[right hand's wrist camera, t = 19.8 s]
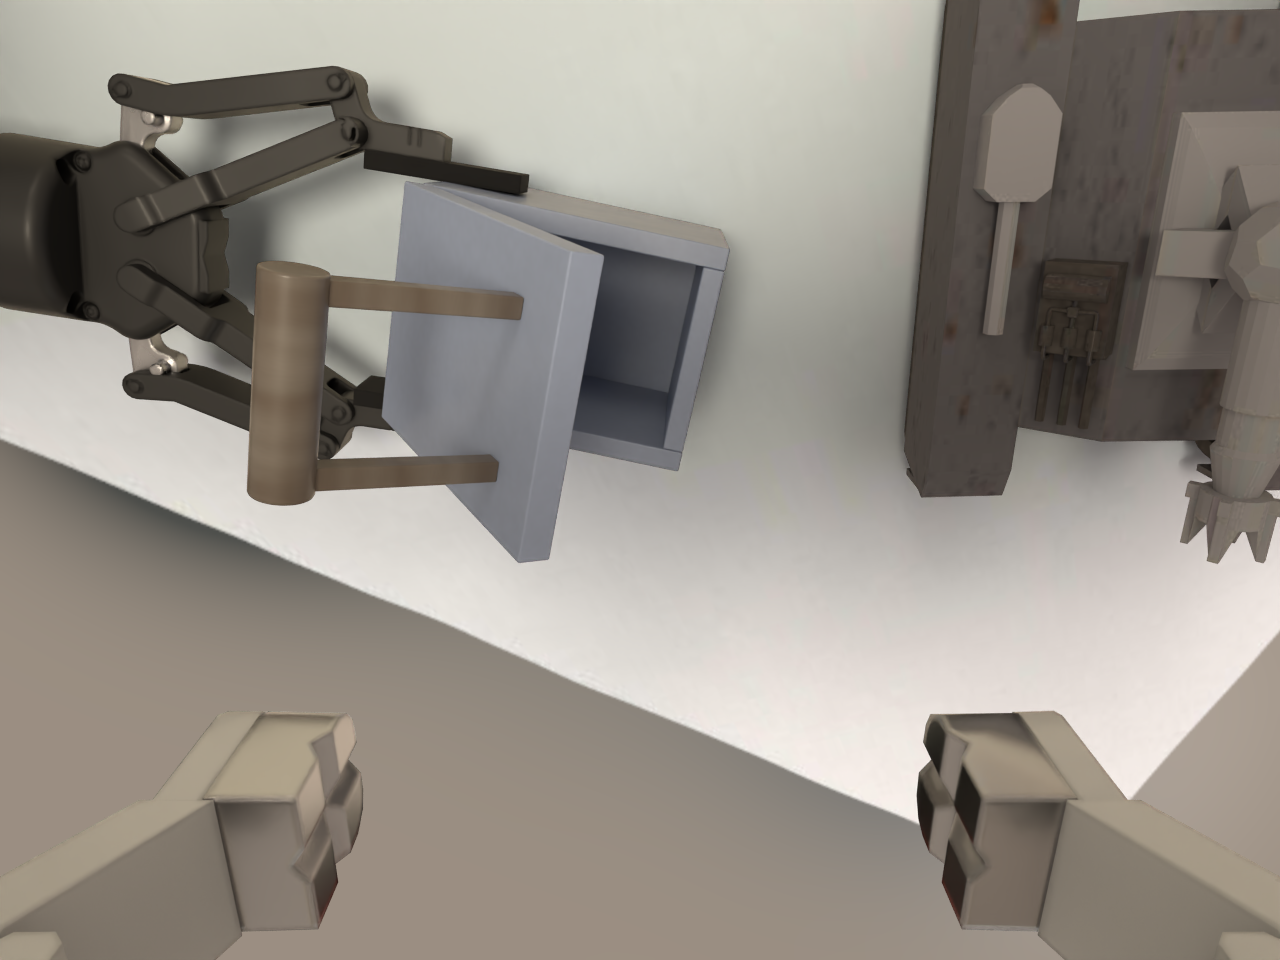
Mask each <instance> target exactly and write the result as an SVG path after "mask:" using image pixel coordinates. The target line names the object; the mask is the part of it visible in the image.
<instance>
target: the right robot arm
mask: <svg viewBox="0 0 1280 960" xmlns="http://www.w3.org/2000/svg"><path fill="white" fill-rule="evenodd" d="M356 743H357V741H356V735H355V730H354V724H353V719H352V718H351V717H350V716H349V715H348V714H347V713H315V712H269V711H268V712H263V711H228V712H225V713H222V714H220V715H218V716H217V717H216V718H215V719H214V720H213V722H212V723H211V724H210V726H209V727H208V728H207V730H206V731H205V732H204V733H203V735H202V736H201V737H200V739H199V740H198V741H197V743H196V744H195V745H194V746H193V748H192V749H191V750H190V752H189V753H188V754H187V756H186V757H185V758H184V759H183V761H182V762H181V763H180V765H179V766H178V767H177V769H176V770H175V771H174V772H173V774H172V775H171V776H170V778H169V779H168V780H167V781H166V783H165V784H164V785H163V787H162V788H161V789H160V791H159V792H158V793H157V794H156V796H155V797H154V798H153V800H138V801H137V802H135V803H133V804H131V805H129V806H128V807H126V808H124V809H122V810H120V811H118V812H117V813H115V814H113V815H111V816H109V817H108V818H106V819H104V820H102V821H100V822H99V823H97V824H95V825H93V826H91V827H89V828H87V829H86V830H84V831H82V832H80V833H78V834H77V835H75V836H73V837H71V838H69V839H67V840H66V841H64V842H62V843H60V844H58V845H57V846H55V847H53V848H51V849H49V850H47V851H46V852H44V853H42V854H40V855H38V856H36V857H35V858H33V859H31V860H29V861H27V862H26V863H24V864H22V865H20V866H18V867H16V868H15V869H13V870H11V871H9V872H7V873H6V874H4V875H2V876H0V960H216V959H217V958H218V957H219V956H220V955H221V954H222V953H224V952H225V951H226V950H227V949H228V948H229V947H230V946H231V945H232V944H233V943H235V942H236V941H237V940H238V939H239V938H240V937H241V936H242V931H276V930H311V929H318V928H319V926H320V924H321V921H322V919H323V917H324V914H325V912H326V910H327V907H328V905H329V903H330V900H331V898H332V895H333V893H334V891H335V888H336V886H337V884H338V878H337V871H336V863H337V862H339V861H340V860H341V859H343V858H344V857H345V856H347V855H348V854H349V853H350V852H351V850H352V848H353V845H354V843H355V840H356V837H357V835H358V831H359V826H360V821H361V815H362V810H363V785H362V777H361V772H360V771H359V770H358V769H357V768H356V767H355V766H354V765H353V764H352V763H351V762H350V761H349V757H350V755H351V753H352V751H353V749H354V747H355V745H356ZM923 743H924V745H925V747H926V749H927V751H928V753H929V755H930V758H931V761H930V762H929V763H928V764H927V765H926V766H925V767H924V768H923V769H922V770H921V771H920V772H919V778H918V787H917V806H918V819H919V823H920V827H921V831H922V835H923V838H924V840H925V843H926V845H927V848H928V850H929V852H930V853H931V854H932V855H933V856H935V857H936V858H937V859H939V860H940V861H941V862H943V863H944V871H943V878H942V884H943V886H944V888H945V891H946V893H947V895H948V898H949V900H950V903H951V905H952V907H953V910H954V912H955V914H956V917H957V919H958V921H959V923H960V926H961V928H962V929H967V930H1003V931H1037V932H1038V936H1039V937H1040V938H1041V939H1043V940H1044V941H1045V942H1046V943H1047V944H1048V945H1049V946H1050V947H1051V948H1052V949H1054V950H1055V951H1056V952H1057V953H1058V954H1059V955H1060V956H1061V957H1062V958H1063V959H1065V960H1280V877H1279V876H1278V875H1276V874H1274V873H1272V872H1270V871H1269V870H1267V869H1265V868H1263V867H1261V866H1260V865H1258V864H1256V863H1254V862H1252V861H1250V860H1249V859H1247V858H1245V857H1243V856H1241V855H1240V854H1238V853H1236V852H1234V851H1232V850H1230V849H1229V848H1227V847H1225V846H1223V845H1221V844H1220V843H1218V842H1216V841H1214V840H1212V839H1210V838H1209V837H1207V836H1205V835H1203V834H1201V833H1200V832H1198V831H1196V830H1194V829H1192V828H1190V827H1189V826H1187V825H1185V824H1183V823H1181V822H1180V821H1178V820H1176V819H1174V818H1172V817H1171V816H1169V815H1167V814H1165V813H1163V812H1161V811H1160V810H1158V809H1156V808H1154V807H1152V806H1151V805H1149V804H1147V803H1145V802H1143V801H1141V800H1127V798H1126V797H1125V796H1124V795H1123V793H1122V792H1121V791H1120V789H1119V788H1118V787H1117V786H1116V784H1115V783H1114V782H1113V780H1112V779H1111V778H1110V777H1109V775H1108V774H1107V773H1106V771H1105V770H1104V769H1103V767H1102V766H1101V765H1100V764H1099V762H1098V761H1097V760H1096V758H1095V757H1094V756H1093V755H1092V753H1091V752H1090V751H1089V749H1088V748H1087V747H1086V746H1085V744H1084V743H1083V742H1082V740H1081V739H1080V738H1079V736H1078V735H1077V734H1076V733H1075V731H1074V730H1073V729H1072V727H1071V726H1070V725H1069V724H1068V722H1067V721H1066V720H1065V718H1064V717H1063V716H1062V715H1060V714H1059V713H1057V712H1055V711H1031V712H1012V713H984V714H930V716H929V719H928V721H927V723H926V727H925V734H924V740H923Z"/></svg>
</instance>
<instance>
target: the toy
mask: <svg viewBox="0 0 1280 960" xmlns="http://www.w3.org/2000/svg"><path fill="white" fill-rule="evenodd" d="M1079 1H1080V0H946V6H945V13H944V24H943V34H942V44H941V55H940V65H939V76H938V86H937V97H936V107H935V118H934V128H933V139H932V149H931V160H930V170H929V180H928V191H927V201H926V212H925V222H924V233H923V243H922V254H921V264H920V275H919V285H918V295H917V306H916V316H915V327H914V337H913V348H912V358H911V369H910V379H909V390H908V400H907V410H906V421H905V431H904V432H905V447H904V452H905V454H906V457H907V460H908V463H909V465H910V468H907V475H908V477H909V478H910V479H911V481H912V482H913V483H914V485H915V486H916V487H917V489H918V490H919V493H920V495H921V497H952V496H990V495H1002V494H1003V491H1004V488H1005V485H1006V483H1007V480H1008V477H1009V474H1010V471H1011V467H1012V460H1013V454H1014V447H1015V441H1016V434H1017V428H1018V427H1022V428H1028V429H1033V430H1039V431H1045V432H1050V433H1056V434H1062V435H1067V436H1073V437H1079V438H1085V439H1090V440H1096V441H1172V440H1195V442H1196V444H1197V446H1198V447H1199V448H1200V450H1201V451H1202V452H1203V453H1204V454H1205V455H1206V456H1208V457H1209V458H1210V459H1211V464H1198V466H1197V471H1199V472H1201V473H1203V474H1204V475H1206V476H1208V477H1210V478H1211V479H1212V482H1206V483H1199V482H1194V481H1190V482H1189V483H1188V485H1187V490H1186V494H1185V496H1186V497H1190V501H1189V505H1188V509H1187V514H1186V518H1185V523H1184V527H1183V532H1182V536H1181V540H1180V542H1182V543H1186V544H1188V543H1189V541H1190V540H1191V539H1192V538H1193V537H1194V536H1195V535H1196V534H1197V533H1198V532H1199V531H1200V530H1201V529H1202V528H1203V527H1204V526H1205V525H1206V526H1207V543H1208V558H1207V561H1209V562H1212V563H1216V564H1218V563H1219V562H1220V560H1221V559H1222V557H1223V555H1224V554H1225V552H1226V551H1227V549H1228V548H1229V546H1230V545H1231V543H1235V542H1236V540H1237V539H1238V537H1239V536H1240V534H1241V532H1246V535H1247V538H1248V540H1249V543H1250V546H1251V549H1252V552H1253V555H1254V558H1255V561H1256V562H1260V563H1264V562H1265V560H1266V556H1267V553H1268V549H1269V545H1270V541H1271V538H1272V534H1273V530H1274V526H1275V523H1276V519H1277V517H1280V499H1275V498H1273V496H1272V495H1271V494H1270V493H1268V492H1267V491H1265V490H1280V9H1267V10H1208V11H1175V12H1165V13H1155V14H1146V15H1136V16H1126V17H1117V18H1107V19H1097V20H1088V21H1078V22H1077V15H1078V8H1079Z"/></svg>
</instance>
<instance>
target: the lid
mask: <svg viewBox="0 0 1280 960" xmlns="http://www.w3.org/2000/svg"><path fill="white" fill-rule="evenodd" d="M603 261H604V256H603V255H602V254H599V253H597V252H594V251H592V250H590V249H587V248H585V247H582V246H580V245H577V244H575V243H572V242H570V241H567V240H565V239H562V238H560V237H557V236H555V235H553V234H550V233H548V232H545V231H543V230H540V229H538V228H535V227H533V226H530V225H528V224H525V223H523V222H520V221H518V220H516V219H513V218H511V217H508V216H506V215H503V214H501V213H498V212H496V211H493V210H491V209H488V208H486V207H484V206H481V205H479V204H476V203H474V202H471V201H469V200H466V199H464V198H461V197H459V196H456V195H454V194H451V193H449V192H447V191H444V190H442V189H439V188H437V187H434V186H432V185H426V184H420V183H414V182H405V188H404V198H403V208H402V218H401V228H400V238H399V248H398V258H397V268H396V278H395V281H386V280H375V279H364V278H353V277H342V276H331V275H330V273H329V272H327V271H325V270H323V269H321V268H318V267H314V266H310V265H306V264H300V263H294V262H285V261H265V262H260V263H258V264H257V266H256V285H255V309H254V333H253V357H252V381H251V404H250V428H249V452H248V476H247V492H248V494H249V496H250V497H251V498H253V499H254V500H256V501H259V502H262V503H266V504H271V505H281V506H287V505H297V504H302V503H305V502H307V501H309V500H311V499H312V498H313V496H314V495H315V491H331V490H350V489H370V488H389V487H409V486H429V485H446V486H447V487H448V488H449V489H450V490H451V491H452V492H453V494H454V495H455V496H456V497H457V498H458V499H459V500H460V501H461V502H462V503H463V504H464V505H465V506H466V507H467V509H468V510H469V511H470V512H471V513H472V514H473V515H474V516H475V517H476V518H477V519H478V520H479V521H480V522H481V524H482V525H483V526H484V527H485V528H486V529H487V530H488V531H489V532H490V533H491V534H492V535H493V536H494V537H495V539H496V540H497V541H498V542H499V543H500V544H501V545H502V546H503V547H504V548H505V549H506V550H507V551H508V552H509V554H510V555H511V556H512V557H513V558H514V559H515V560H516V561H517V562H518V563H523V562H531V561H540V560H548V559H549V556H550V550H551V545H552V540H553V534H554V529H555V523H556V518H557V512H558V507H559V501H560V496H561V490H562V485H563V480H564V474H565V469H566V463H567V458H568V452H569V447H570V441H571V436H572V430H573V425H574V420H575V414H576V409H577V403H578V398H579V392H580V387H581V381H582V376H583V370H584V365H585V360H586V354H587V349H588V343H589V338H590V332H591V327H592V321H593V316H594V311H595V305H596V300H597V294H598V289H599V283H600V278H601V272H602V267H603ZM329 307H336V308H350V309H365V310H379V311H392V318H391V328H390V339H389V349H388V359H387V369H386V379H385V389H384V399H383V409H382V418H383V419H384V420H385V421H386V422H387V423H388V424H389V425H390V426H391V427H392V428H393V429H394V430H395V431H396V433H397V434H398V435H399V436H400V437H401V438H402V439H403V440H404V441H405V442H406V443H407V444H408V445H409V446H410V447H411V449H412V450H413V451H414V452H415V453H416V454H417V455H418V456H419V457H386V458H353V459H320V460H318V447H319V433H320V420H321V406H322V392H323V379H324V365H325V351H326V337H327V324H328V310H329Z"/></svg>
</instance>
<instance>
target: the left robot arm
mask: <svg viewBox="0 0 1280 960" xmlns="http://www.w3.org/2000/svg"><path fill="white" fill-rule="evenodd" d="M108 91H109V94H110V96H111V97H112V99H113V100H114V101H115V102H116V103H118V104H120V105H121V127H120V141H116V142H113V143H111V144H109V145H107V146H103V147H94V146H88V145H82V144H76V143H70V142H64V141H58V140H51V139H45V138H39V137H33V136H27V135H21V134H14V133H1V134H0V306H1V307H3V308H7V309H12V310H18V311H25V312H31V313H38V314H44V315H51V316H57V317H64V318H70V319H76V320H83V321H90V322H97V323H102V324H105V325H107V326H109V327H111V328H113V329H114V330H116V331H117V332H119V333H120V334H122V335H123V336H125V337H128V338H129V343H130V350H131V358H132V365H133V372H132V373H130V374H128V375H126V376H125V377H124V379H123V382H122V386H123V389H124V391H125V392H126V393H127V395H129V396H130V397H132V398H135V399H144V400H160V401H174V402H177V403H179V404H182V405H184V406H187V407H189V408H192V409H194V410H197V411H200V412H202V413H205V414H207V415H210V416H212V417H215V418H217V419H220V420H222V421H225V422H227V423H230V424H232V425H235V426H237V427H240V428H242V429H245V430H247V431H249V428H250V404H251V384H248V383H246V382H243V381H241V380H238V379H236V378H234V377H231V376H229V375H226V374H224V373H221V372H219V371H216V370H213V369H211V368H208V367H204V366H200V365H195V364H187V363H188V358H187V356H186V355H185V354H183V353H180V352H179V351H176V350H173V349H170V348H169V347H167V346H166V345H165V344H164V342H163V341H162V338H161V334H162V333H164V332H166V331H168V330H170V329H171V328H173V327H175V326H177V325H179V326H181V327H182V328H184V329H185V330H186V331H188V332H189V333H191V334H192V335H194V336H195V337H197V338H199V339H201V340H204V341H208V342H212V343H214V344H216V345H217V346H219V347H220V348H222V349H223V350H225V351H226V352H228V353H229V354H231V355H232V356H234V357H235V358H236V359H238V360H239V361H241V362H242V363H244V364H245V365H247V366H248V367H250V368H251V369H252V357H253V333H254V316H253V315H252V314H251V313H250V312H249V311H248V308H247V307H246V306H245V305H244V304H243V303H242V302H240V301H239V300H237V299H236V298H235V297H233V296H232V295H230V294H229V293H227V292H226V291H224V289H226V288H229V269H228V266H227V262H226V258H225V254H224V252H225V248H226V244H227V240H228V237H229V219H228V218H224V217H223V214H222V212H221V210H222V209H224V208H227V207H229V206H232V205H234V204H237V203H239V202H242V201H244V200H246V199H248V198H249V197H251V196H253V195H256V194H258V193H261V192H263V191H266V190H269V189H271V188H274V187H276V186H279V185H281V184H284V183H286V182H289V181H291V180H294V179H296V178H299V177H301V176H304V175H306V174H309V173H311V172H314V171H316V170H319V169H321V168H324V167H326V166H329V165H332V164H334V163H337V162H339V161H342V160H344V159H347V158H349V157H352V156H354V155H357V154H359V153H362V152H364V169H370V170H376V171H382V172H388V173H394V174H401V175H407V176H413V177H419V178H425V179H431V180H437V181H443V182H449V183H455V184H461V185H467V186H473V187H479V188H485V189H491V190H497V191H503V192H509V193H515V194H522V193H526V192H528V182H529V175H528V174H522V173H516V172H510V171H504V170H498V169H492V168H486V167H480V166H474V165H468V164H462V163H456V162H451V152H452V138H451V137H449V136H447V135H446V134H444V133H442V132H439V131H433V130H427V129H421V128H415V127H410V126H404V125H398V124H392V123H387V122H383V121H381V120H380V119H378V118H377V117H376V116H375V115H374V113H373V112H372V109H371V107H370V103H369V99H368V96H367V93H368V85H367V82H366V80H365V79H364V77H363V76H362V75H360V74H358V73H356V72H353V71H350V70H347V69H344V68H341V67H337V66H328V67H319V68H310V69H302V70H293V71H284V72H275V73H267V74H258V75H249V76H240V77H232V78H223V79H214V80H205V81H197V82H188V83H179V84H171V83H167V82H163V81H159V80H156V79H150V78H144V77H138V76H133V75H127V74H116V75H113V76H112V77H111V78H110V80H109V83H108ZM330 105H331V107H332V110H333V114H334V117H335V121H333V122H330V123H328V124H326V125H323V126H321V127H318V128H316V129H313V130H311V131H308V132H306V133H303V134H301V135H298V136H296V137H293V138H291V139H288V140H286V141H283V142H281V143H278V144H276V145H273V146H271V147H268V148H266V149H263V150H261V151H259V152H256V153H254V154H251V155H249V156H246V157H244V158H241V159H239V160H236V161H234V162H231V163H229V164H226V165H224V166H221V167H219V168H216V169H214V170H211V171H208V172H203V173H200V174H196V175H194V176H191V177H188V176H187V175H186V174H185V173H184V172H183V171H182V170H181V169H179V168H178V167H177V166H176V165H175V164H174V163H173V162H172V161H171V160H169V159H168V158H167V157H166V156H165V155H164V154H163V153H162V152H161V151H159V150H158V149H157V148H156V147H155V143H156V140H157V139H158V138H159V137H160V136H161V135H164V134H174V133H177V132H178V131H179V130H180V128H181V126H182V124H183V118H182V117H184V118H195V119H214V118H223V117H232V116H241V115H250V114H259V113H268V112H276V111H285V110H294V109H303V108H312V107H321V106H330ZM385 379H386V378H385V377H378V376H372V375H371V376H370V377H369V378H367V379H366V380H365V381H364V382H362V383H361V384H360V385H358V386H357V387H356V386H355V385H353V384H352V383H350V382H349V381H347V380H346V379H345V378H343V377H342V376H340V375H339V374H337V373H336V372H334V371H333V370H332V369H330V368H329V367H327V366H326V365H324V379H323V392H322V406H321V420H320V433H319V447H318V459H331V458H332V457H333V456H335V455H336V454H337V453H338V452H339V451H340V450H341V449H342V448H343V447H344V446H345V445H346V444H347V443H348V442H349V441H350V439H351V438H352V432H353V430H354V428H355V427H356V426H365V427H372V428H378V429H385V430H392V431H395V430H394V429H393V428H392V427H391V426H390V425H389V424H388V423H387V422H386V421H385V420H384V419H383V418H382V409H383V399H384V389H385Z"/></svg>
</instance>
